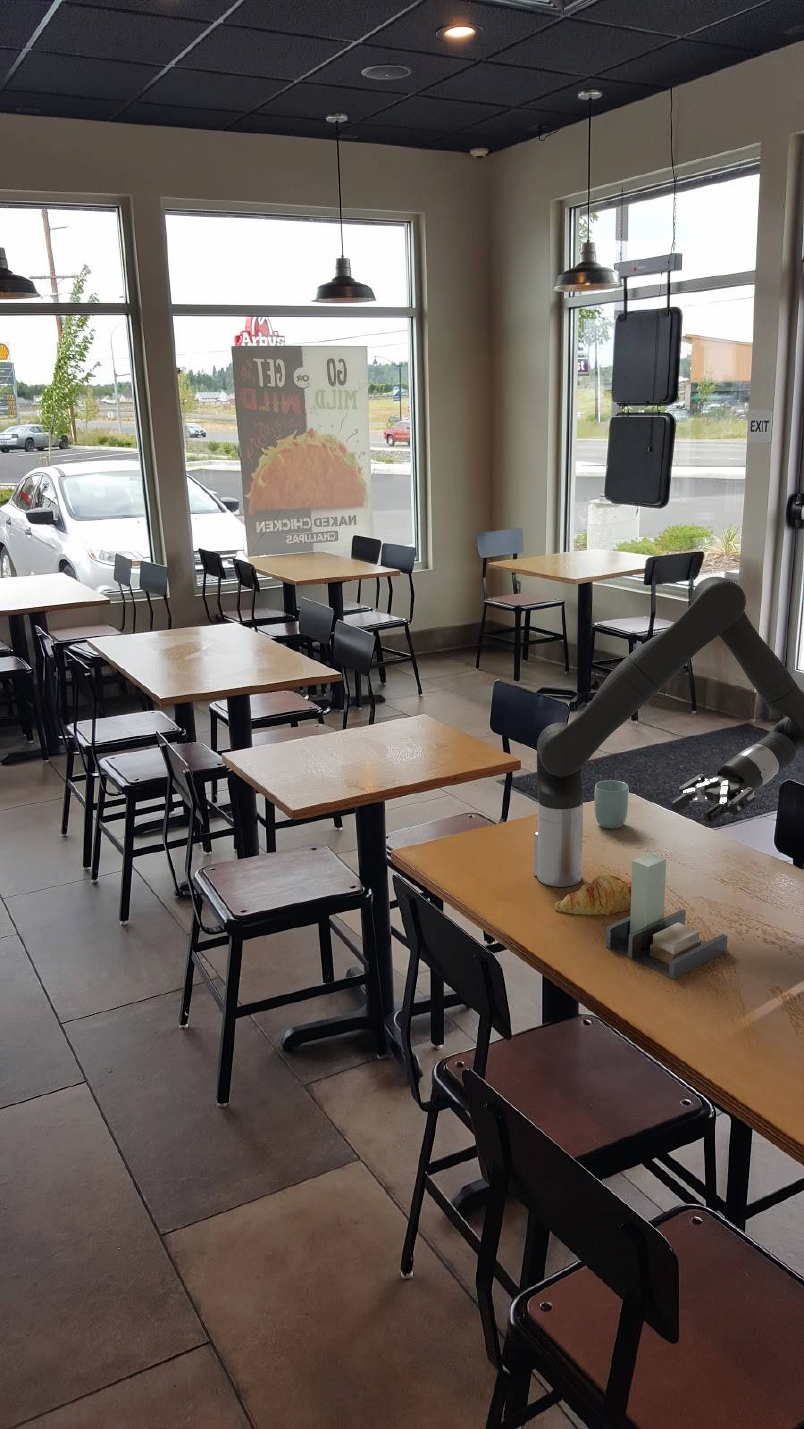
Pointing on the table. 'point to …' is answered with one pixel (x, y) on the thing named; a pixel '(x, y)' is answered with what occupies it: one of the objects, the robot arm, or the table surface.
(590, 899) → the croissant
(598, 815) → the cup
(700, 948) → the rack
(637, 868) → the tall mint green block
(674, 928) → the offcut upper
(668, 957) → the offcut lower
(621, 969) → the table surface
